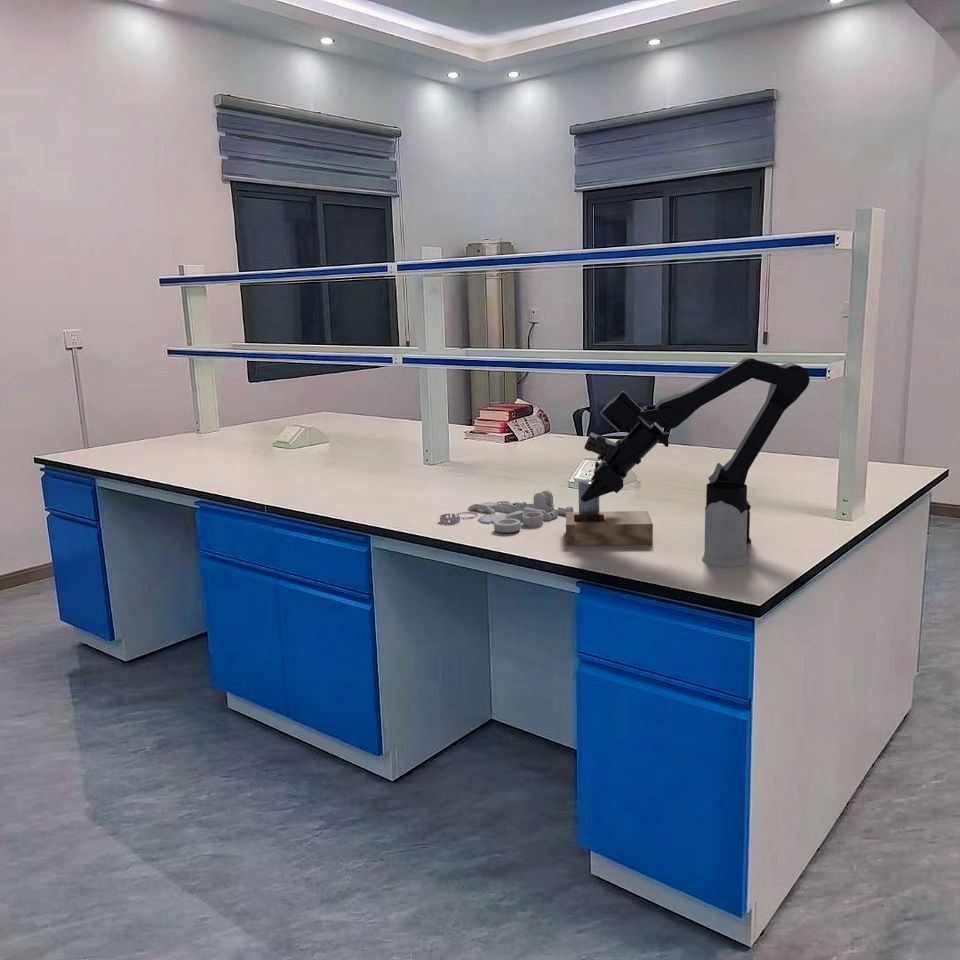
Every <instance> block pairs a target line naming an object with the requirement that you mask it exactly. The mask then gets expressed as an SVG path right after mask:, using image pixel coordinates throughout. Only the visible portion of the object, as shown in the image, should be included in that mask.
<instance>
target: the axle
mask: <svg viewBox="0 0 960 960" xmlns="http://www.w3.org/2000/svg"><path fill="white" fill-rule="evenodd" d="M592 481H593V480H591V479H590V480H587V479H585V480H580V481H579V482H578V484H577V485H578V512H579V522H600V512H601V510H600V496H599V497H596V498H594V499H591V500H589V501H586V502H583V501H582V500H581V497H582V496H583V494H584V493H585V491H586V490H587V488H588V487H589V486H590V484H591V483H592Z"/></svg>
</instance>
